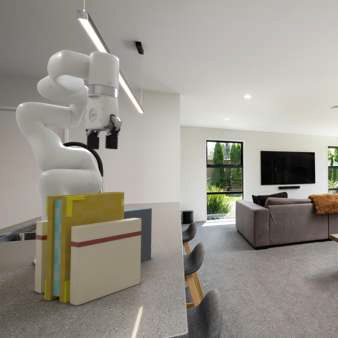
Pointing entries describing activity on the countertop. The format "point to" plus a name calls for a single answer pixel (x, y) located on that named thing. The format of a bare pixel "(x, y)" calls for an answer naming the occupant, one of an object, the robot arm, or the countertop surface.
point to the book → (61, 232)
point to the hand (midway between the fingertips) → (102, 149)
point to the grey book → (143, 229)
